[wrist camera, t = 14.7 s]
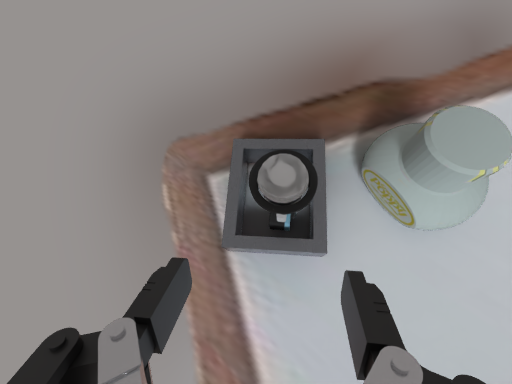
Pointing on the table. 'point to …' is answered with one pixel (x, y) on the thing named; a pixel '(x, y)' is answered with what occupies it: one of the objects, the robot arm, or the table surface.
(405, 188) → the air freshener
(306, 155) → the square socket
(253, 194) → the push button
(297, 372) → the table surface
